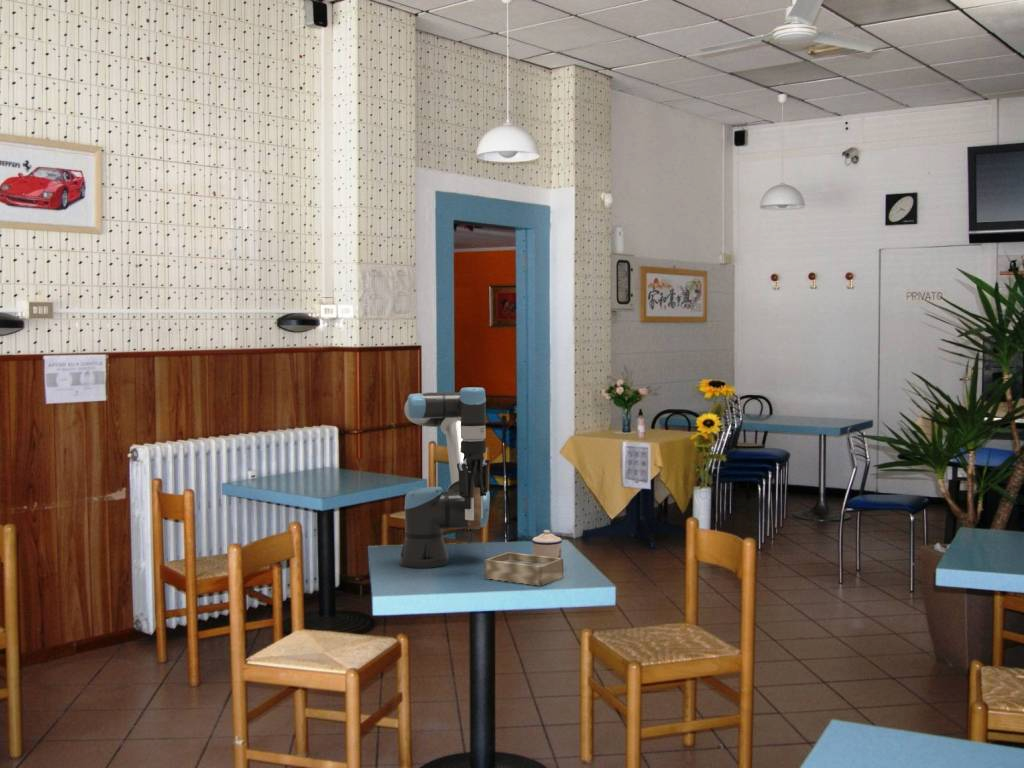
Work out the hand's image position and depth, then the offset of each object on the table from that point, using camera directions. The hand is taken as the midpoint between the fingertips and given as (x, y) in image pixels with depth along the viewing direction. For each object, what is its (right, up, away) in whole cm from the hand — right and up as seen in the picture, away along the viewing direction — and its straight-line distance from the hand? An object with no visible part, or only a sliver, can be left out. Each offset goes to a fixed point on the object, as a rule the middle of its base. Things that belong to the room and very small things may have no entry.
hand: (473, 518), depth 311 cm
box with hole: (+15, -17, -5) cm, 23 cm away
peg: (0, -3, 0) cm, 3 cm away
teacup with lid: (+22, -16, +9) cm, 29 cm away
